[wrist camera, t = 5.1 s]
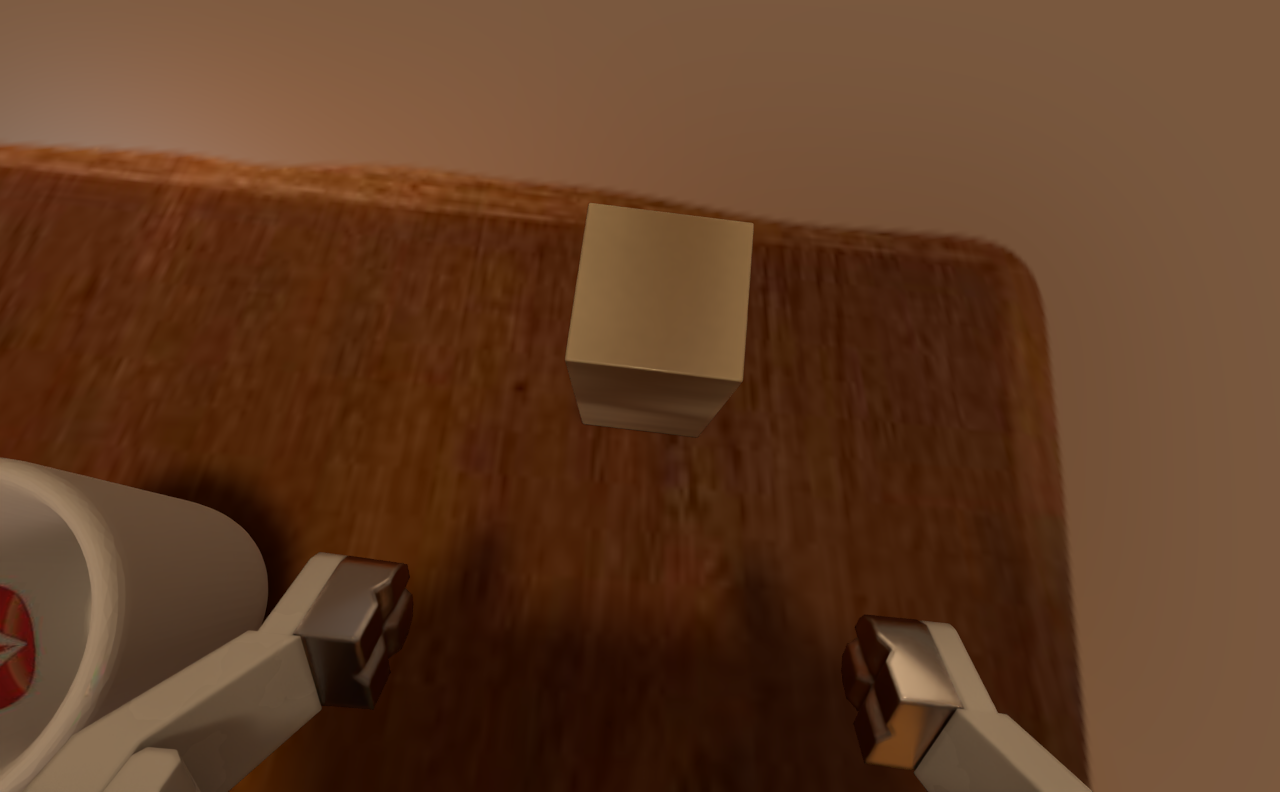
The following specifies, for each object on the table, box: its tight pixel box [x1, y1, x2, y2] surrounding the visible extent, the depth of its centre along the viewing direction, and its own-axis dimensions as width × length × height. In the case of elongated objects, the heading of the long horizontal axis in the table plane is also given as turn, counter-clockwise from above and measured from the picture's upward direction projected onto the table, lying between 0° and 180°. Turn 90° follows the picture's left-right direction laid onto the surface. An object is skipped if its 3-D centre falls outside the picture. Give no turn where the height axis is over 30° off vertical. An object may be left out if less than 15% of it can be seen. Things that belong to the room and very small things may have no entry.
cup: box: [0, 458, 268, 792], centre depth 16 cm, size 11×8×8 cm
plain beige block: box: [565, 203, 754, 437], centre depth 19 cm, size 4×4×8 cm
